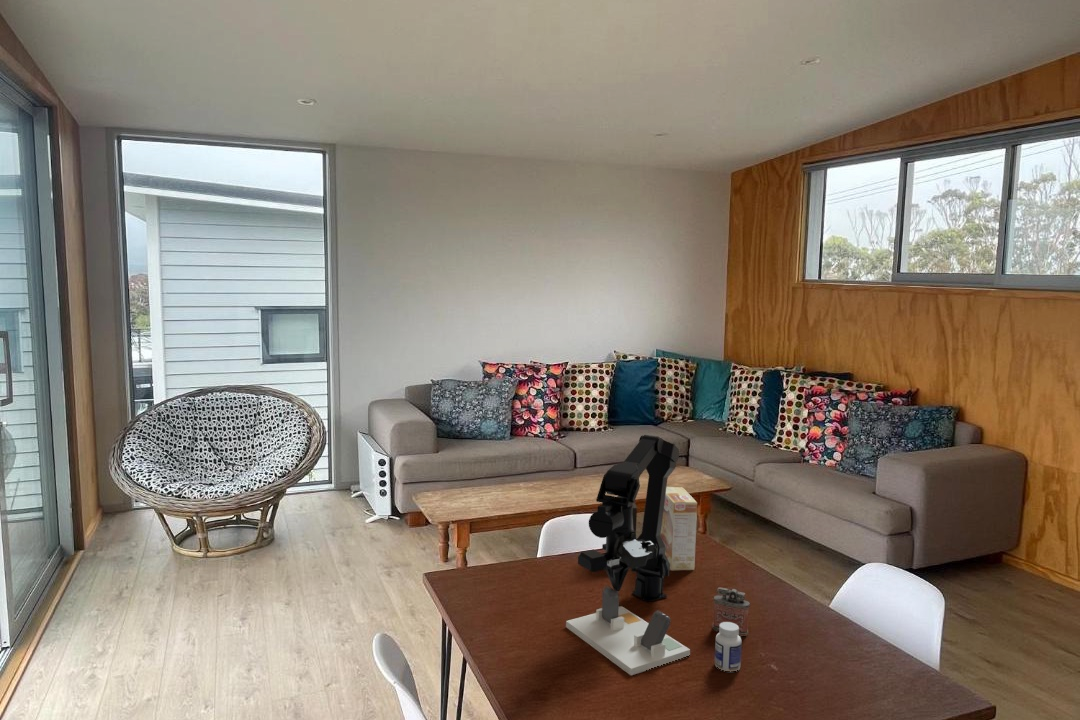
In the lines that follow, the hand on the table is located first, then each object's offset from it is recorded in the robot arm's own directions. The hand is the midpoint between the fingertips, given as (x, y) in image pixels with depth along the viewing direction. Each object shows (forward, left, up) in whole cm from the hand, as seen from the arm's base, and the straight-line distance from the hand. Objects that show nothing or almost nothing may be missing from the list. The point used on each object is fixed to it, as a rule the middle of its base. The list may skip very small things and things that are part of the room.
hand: (616, 590), depth 173 cm
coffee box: (-28, -34, -9) cm, 45 cm away
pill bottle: (-10, +25, -9) cm, 29 cm away
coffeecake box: (-40, -25, -9) cm, 48 cm away
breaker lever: (+2, 0, -7) cm, 7 cm away
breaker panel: (+2, +6, -9) cm, 11 cm away
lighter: (-22, +14, -9) cm, 28 cm away
